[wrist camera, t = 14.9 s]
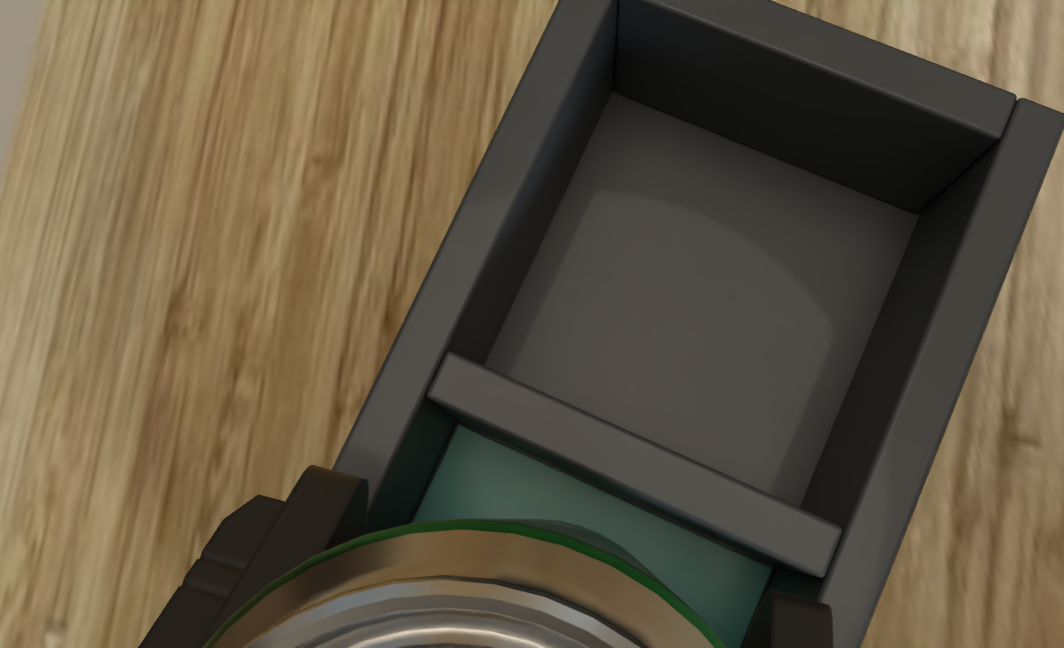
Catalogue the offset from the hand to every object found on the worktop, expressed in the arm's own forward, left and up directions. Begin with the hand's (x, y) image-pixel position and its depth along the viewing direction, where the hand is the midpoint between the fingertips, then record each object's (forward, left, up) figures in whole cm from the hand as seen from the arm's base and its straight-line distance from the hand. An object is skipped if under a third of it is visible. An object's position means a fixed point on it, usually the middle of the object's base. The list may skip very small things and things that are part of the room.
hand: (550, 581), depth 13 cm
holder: (0, +2, -6) cm, 7 cm away
